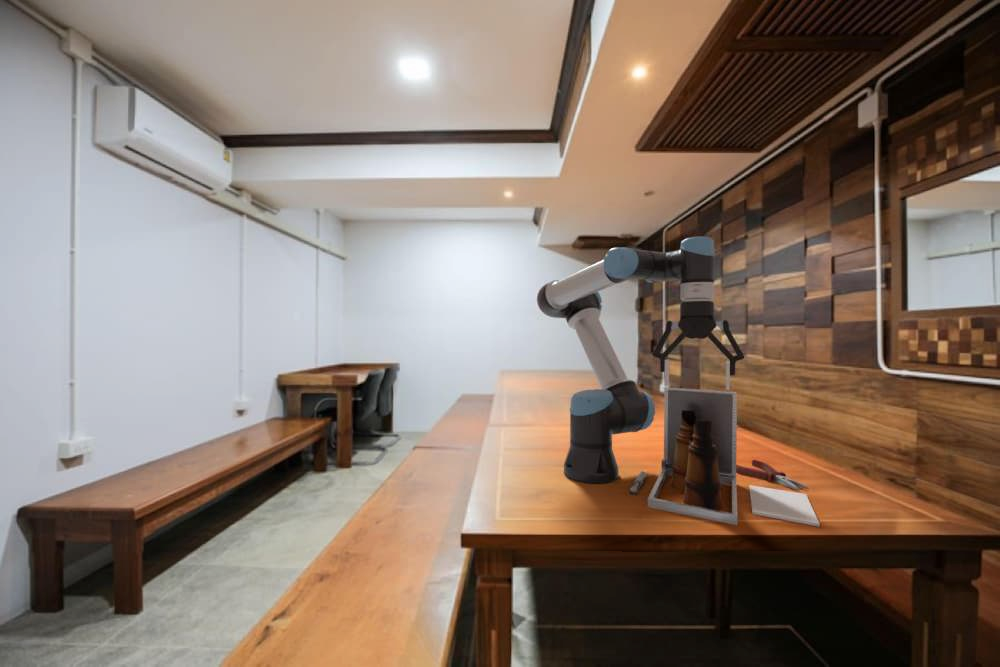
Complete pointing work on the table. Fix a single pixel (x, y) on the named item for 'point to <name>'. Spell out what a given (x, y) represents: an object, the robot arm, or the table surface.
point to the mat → (782, 505)
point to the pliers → (768, 474)
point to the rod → (637, 483)
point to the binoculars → (696, 463)
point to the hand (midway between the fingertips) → (696, 387)
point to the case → (724, 433)
